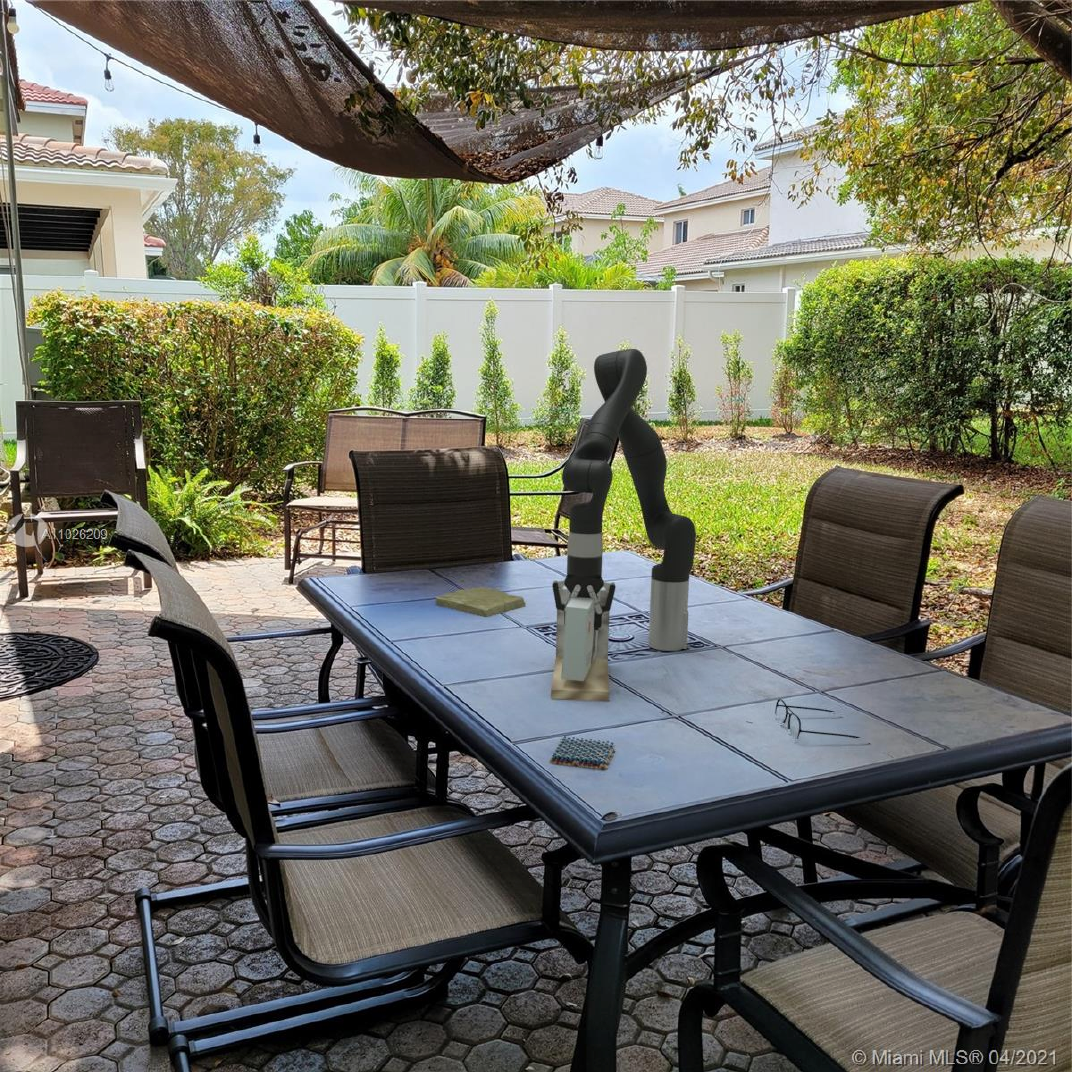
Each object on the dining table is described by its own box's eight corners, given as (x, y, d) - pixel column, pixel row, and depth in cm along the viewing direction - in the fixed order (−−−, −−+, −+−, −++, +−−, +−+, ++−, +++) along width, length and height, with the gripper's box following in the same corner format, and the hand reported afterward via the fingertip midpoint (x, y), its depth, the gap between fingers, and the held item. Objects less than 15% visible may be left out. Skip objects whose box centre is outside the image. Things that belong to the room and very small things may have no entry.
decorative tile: (486, 619, 269) (486, 606, 269) (434, 606, 282) (434, 594, 281) (530, 607, 284) (530, 595, 283) (479, 595, 296) (479, 584, 296)
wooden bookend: (607, 665, 229) (610, 589, 226) (609, 701, 205) (612, 616, 202) (555, 662, 230) (557, 587, 227) (551, 698, 205) (553, 614, 202)
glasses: (772, 719, 198) (777, 695, 197) (844, 727, 199) (848, 704, 198) (795, 747, 184) (800, 721, 183) (872, 755, 185) (877, 730, 184)
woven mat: (617, 750, 180) (617, 740, 180) (606, 773, 170) (607, 762, 169) (561, 744, 182) (561, 733, 182) (547, 766, 172) (548, 755, 172)
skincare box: (586, 682, 206) (588, 608, 203) (560, 680, 207) (562, 606, 204) (599, 653, 226) (601, 586, 223) (575, 652, 227) (577, 584, 224)
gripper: (618, 550, 215) (615, 625, 218) (552, 548, 216) (550, 623, 219) (619, 557, 208) (616, 635, 211) (550, 554, 208) (548, 632, 211)
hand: (582, 628), depth 215 cm, fingers closed on skincare box, 5 cm apart
